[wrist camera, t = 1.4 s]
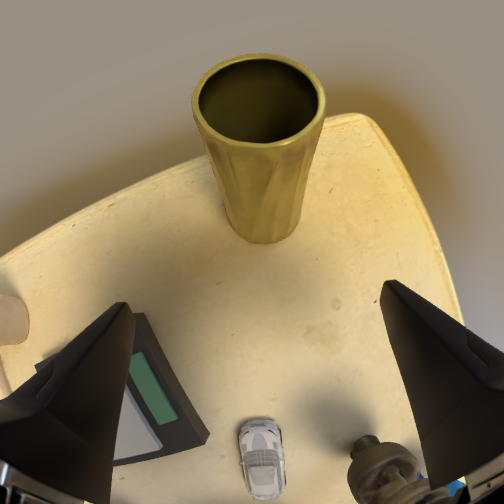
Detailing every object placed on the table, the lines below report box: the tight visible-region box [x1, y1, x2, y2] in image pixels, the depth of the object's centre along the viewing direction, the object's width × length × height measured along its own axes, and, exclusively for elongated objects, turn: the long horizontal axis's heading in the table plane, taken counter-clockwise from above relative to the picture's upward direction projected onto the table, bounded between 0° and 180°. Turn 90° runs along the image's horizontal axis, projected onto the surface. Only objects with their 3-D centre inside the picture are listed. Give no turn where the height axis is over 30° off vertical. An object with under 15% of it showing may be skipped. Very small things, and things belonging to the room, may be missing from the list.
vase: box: [192, 53, 327, 244], centre depth 16 cm, size 6×6×14 cm
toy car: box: [238, 420, 286, 500], centre depth 18 cm, size 4×8×3 cm, turn 6°
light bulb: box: [347, 435, 454, 504], centre depth 12 cm, size 6×6×15 cm
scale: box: [34, 313, 210, 467], centre depth 20 cm, size 12×14×3 cm
